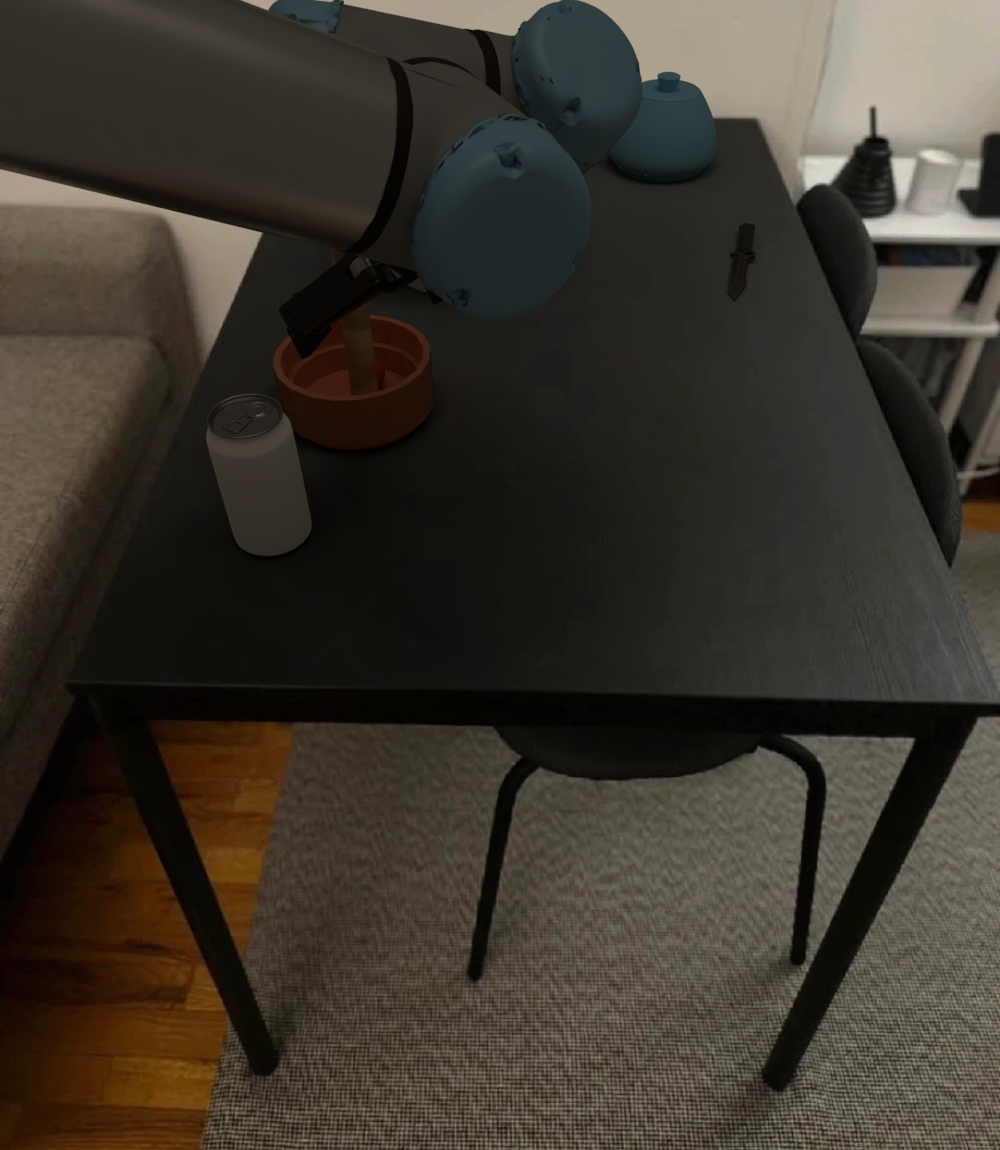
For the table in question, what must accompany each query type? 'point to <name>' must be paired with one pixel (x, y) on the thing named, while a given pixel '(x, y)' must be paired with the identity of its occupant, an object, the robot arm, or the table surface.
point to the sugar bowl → (667, 133)
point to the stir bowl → (324, 395)
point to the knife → (741, 259)
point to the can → (259, 474)
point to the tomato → (380, 372)
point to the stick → (358, 346)
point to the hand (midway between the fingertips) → (366, 315)
